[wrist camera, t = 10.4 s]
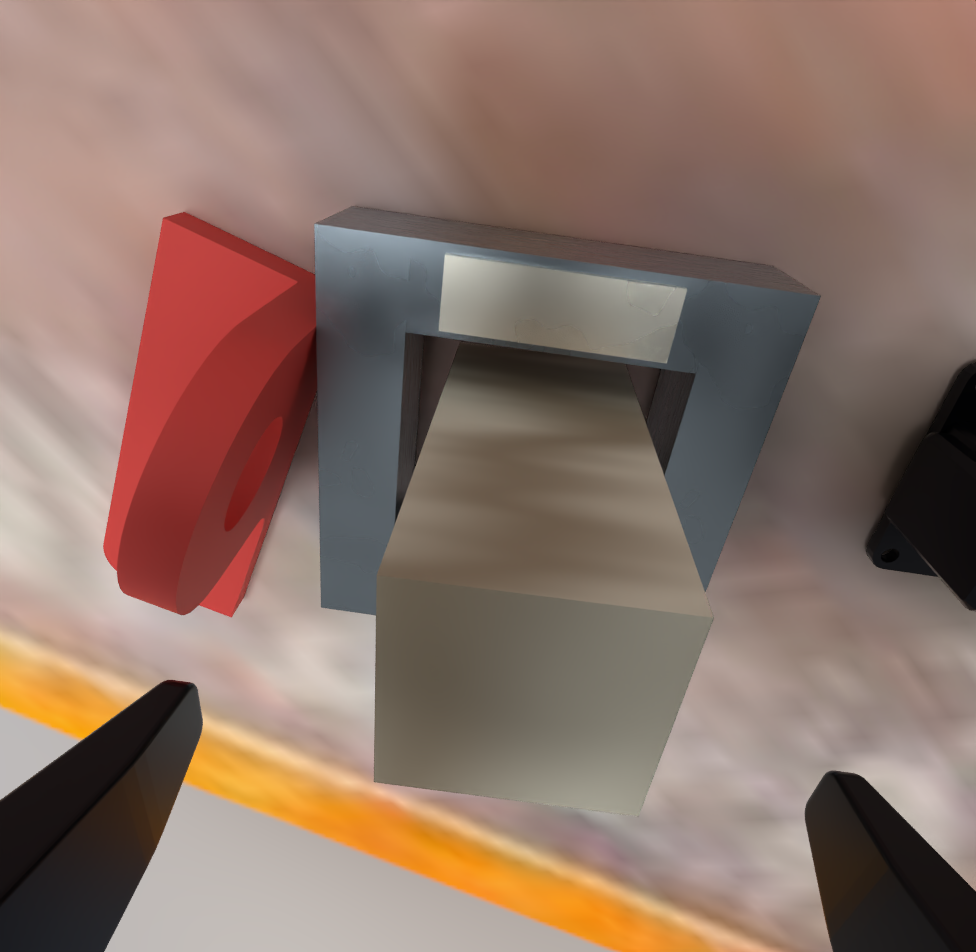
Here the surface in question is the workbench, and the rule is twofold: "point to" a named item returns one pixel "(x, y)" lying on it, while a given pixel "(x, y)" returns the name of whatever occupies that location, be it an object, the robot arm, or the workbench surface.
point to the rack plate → (539, 327)
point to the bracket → (210, 417)
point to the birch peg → (535, 592)
